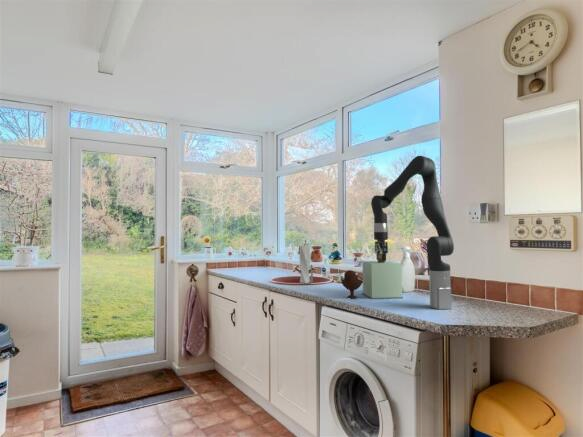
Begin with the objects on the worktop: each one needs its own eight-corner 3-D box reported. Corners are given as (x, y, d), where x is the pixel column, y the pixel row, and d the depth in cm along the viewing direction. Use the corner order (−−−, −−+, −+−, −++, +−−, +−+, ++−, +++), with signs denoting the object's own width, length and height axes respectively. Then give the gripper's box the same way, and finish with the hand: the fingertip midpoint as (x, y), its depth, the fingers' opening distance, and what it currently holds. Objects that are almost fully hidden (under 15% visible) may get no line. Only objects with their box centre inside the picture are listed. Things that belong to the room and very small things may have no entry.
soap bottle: (407, 289, 234) (406, 245, 235) (418, 291, 228) (418, 245, 229) (392, 292, 225) (392, 246, 226) (405, 293, 219) (404, 246, 220)
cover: (402, 297, 205) (401, 254, 206) (372, 298, 203) (371, 254, 204) (390, 292, 222) (390, 252, 223) (362, 293, 220) (362, 252, 221)
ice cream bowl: (362, 300, 200) (361, 271, 201) (340, 299, 203) (340, 271, 203) (362, 296, 211) (362, 269, 211) (342, 296, 213) (341, 269, 213)
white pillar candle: (306, 284, 263) (306, 243, 264) (297, 283, 268) (296, 243, 269) (313, 282, 269) (313, 242, 270) (304, 282, 274) (303, 242, 275)
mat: (403, 298, 205) (403, 297, 205) (371, 299, 203) (371, 298, 203) (391, 293, 222) (391, 292, 222) (362, 293, 220) (362, 293, 220)
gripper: (392, 231, 207) (392, 261, 207) (382, 231, 221) (383, 259, 221) (378, 231, 206) (379, 261, 206) (370, 231, 220) (370, 259, 220)
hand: (381, 260), depth 213 cm, fingers open, 8 cm apart
